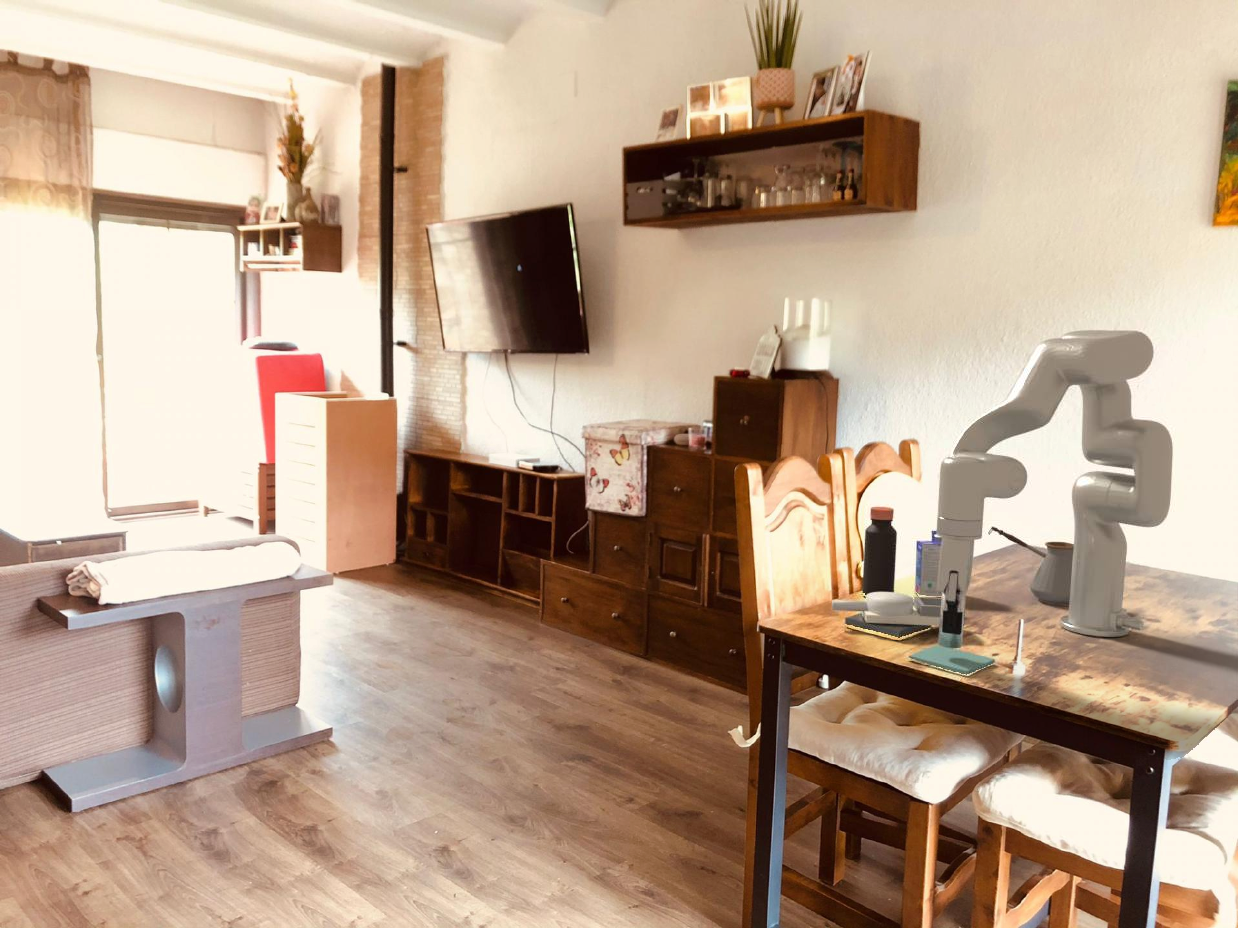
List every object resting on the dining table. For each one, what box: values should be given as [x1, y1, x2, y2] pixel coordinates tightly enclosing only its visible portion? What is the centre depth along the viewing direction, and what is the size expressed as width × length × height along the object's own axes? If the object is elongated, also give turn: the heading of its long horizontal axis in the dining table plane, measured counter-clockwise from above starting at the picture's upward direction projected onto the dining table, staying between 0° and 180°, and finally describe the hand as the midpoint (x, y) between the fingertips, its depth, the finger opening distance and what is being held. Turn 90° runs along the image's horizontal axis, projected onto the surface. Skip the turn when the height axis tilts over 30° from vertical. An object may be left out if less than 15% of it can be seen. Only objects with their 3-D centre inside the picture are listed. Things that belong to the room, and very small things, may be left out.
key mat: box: [908, 644, 996, 675], centre depth 176 cm, size 11×10×1 cm
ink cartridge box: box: [914, 530, 942, 596], centre depth 222 cm, size 10×6×14 cm, turn 89°
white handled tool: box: [831, 592, 942, 626], centre depth 196 cm, size 24×9×4 cm, turn 84°
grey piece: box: [937, 587, 967, 649], centre depth 175 cm, size 4×4×10 cm
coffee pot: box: [987, 526, 1074, 607], centre depth 222 cm, size 21×12×15 cm, turn 53°
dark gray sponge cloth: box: [844, 612, 933, 638], centre depth 196 cm, size 12×12×2 cm
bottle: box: [861, 506, 898, 595], centre depth 219 cm, size 7×7×20 cm
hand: (953, 628), depth 175 cm, fingers closed on grey piece, 4 cm apart
